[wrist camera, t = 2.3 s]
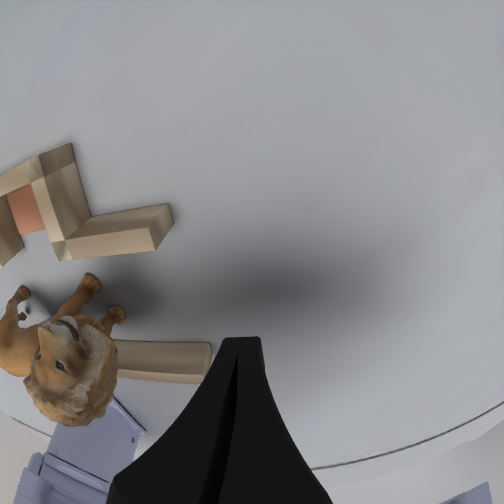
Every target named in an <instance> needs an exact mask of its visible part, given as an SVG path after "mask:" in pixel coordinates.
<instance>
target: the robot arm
mask: <svg viewBox="0 0 504 504" xmlns="http://www.w3.org/2000/svg"><path fill="white" fill-rule="evenodd" d="M146 434H147V433H146V431H145V430H144V429H143V428H142V427H140V426H139V425H138V424H137V423H136V422H135V421H134V420H133V418H132V417H131V416H130V415H129V414H128V413H127V412H126V411H125V410H124V409H123V408H122V407H121V406H120V405H119V404H118V402H117V401H116V400H115V399H114V398H112V400H111V402H110V403H109V404H108V406H107V408H106V413H105V415H104V416H103V417H102V418H95V419H93V420H92V422H91V423H90V424H89V425H87V426H76V427H71V426H70V427H66V426H64V425H62V424H59V423H58V424H57V426H56V428H55V431H54V433H53V436H52V438H51V441H50V443H49V446H48V449H47V451H46V452H47V453H44V454H43V455H42V454H41V453H39V452H37V453H34V454H32V456H31V458H30V461H29V464H28V467H27V468H24V469H23V472H22V475H21V478H20V482H19V485H18V488H17V492H16V495H15V498H14V502H13V503H14V504H333V503H332V501H331V499H330V497H329V495H328V493H327V492H326V490H325V489H324V488H323V486H322V485H321V484H320V482H319V481H318V480H317V478H316V477H315V475H314V474H313V473H312V471H311V470H310V468H309V466H308V465H307V463H306V462H305V460H304V459H303V457H302V455H301V454H300V452H299V450H298V448H297V447H296V445H295V443H294V442H293V440H292V438H291V436H290V434H289V432H288V430H287V428H286V426H285V424H284V422H283V420H282V418H281V415H280V413H279V411H278V408H277V406H276V403H275V401H274V398H273V396H272V393H271V390H270V387H269V384H268V381H267V377H266V374H265V364H264V358H263V351H262V345H261V338H259V337H258V336H255V337H230V338H225V339H223V342H222V344H221V346H220V349H219V351H218V353H217V355H216V357H215V359H214V361H213V363H212V365H211V367H210V369H209V371H208V372H207V374H206V376H205V378H204V379H203V381H202V383H201V385H200V386H199V388H198V389H197V391H196V392H195V394H194V395H193V397H192V399H191V400H190V402H189V403H188V404H187V406H186V407H185V409H184V410H183V411H182V413H181V414H180V415H179V416H178V418H177V419H176V420H175V421H174V423H173V424H172V425H171V426H170V427H169V428H168V429H167V431H166V432H165V433H164V434H163V435H162V436H161V437H160V438H159V439H158V440H157V441H156V442H155V443H154V444H153V445H152V446H151V447H150V448H149V449H148V450H147V451H145V452H144V453H143V454H142V455H141V456H140V457H139V458H138V459H136V460H135V461H134V462H133V463H132V461H133V457H134V453H135V450H136V446H137V442H138V439H139V435H144V436H145V435H146ZM440 504H492V499H491V494H490V489H489V484H488V482H485V483H483V484H481V485H479V486H477V487H475V488H473V489H471V490H469V491H467V492H464V493H462V494H459V495H457V496H455V497H453V498H451V499H449V500H447V501H445V502H442V503H440Z"/></svg>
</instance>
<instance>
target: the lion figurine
mask: <svg viewBox="0 0 504 504" xmlns="http://www.w3.org/2000/svg"><path fill="white" fill-rule="evenodd" d="M99 287H100V285H99V281H98V279H97V278H95V277H94V276H92V275H90V274H88V273H86V274H85V275H84V277H83V279H82V281H81V283H80V285H79V286H78V288H77V290H76V292H75V293H74V295H73V296H72V297H71V298H70V299H69V300H68V301H66V302H65V303H64V304H63V305H62V306H61V307H60V309H59V310H58V312H57V314H56V315H53V316H52V317H50V318H49V319H47V320H45V321H43V322H41V323H39V324H36V325H33V326H30V327H28V328H27V329H25V330H23V331H20V330H19V327H18V321H20V320H25V319H26V317H27V316H26V315H25V314H24V313H23V312H21V313H20V314H18V310H17V306H18V304H19V303H20V302H21V301H25V300H27V299H28V298H29V292H28V291H27V289H26V288H25V287H23V286H20V287H19V288H18V290H17V292H16V293H15V295H14V296H13V297H12V299H10V300H9V301H8V303H7V306H6V313H5V315H4V316H3V318H2V319H1V320H0V367H1V368H2V369H3V370H5V371H7V372H8V373H10V374H11V375H13V376H18V377H20V376H21V377H22V376H27V377H26V378H25V379H24V380H23V383H24V385H25V387H26V390H27V392H28V394H29V395H30V397H31V398H32V399H33V401H34V404H35V406H36V407H37V408H38V409H40V412H41V413H42V414H43V415H44V416H46V417H47V418H48V419H49V420H50V421H55V422H57V423H59V424H62V425H64V426H66V427H70V426H71V427H76V426H87V425H89V424H90V423H91V422H92V420H93V419H95V418H102V417H103V416H104V415H105V413H106V408H107V406H108V404H109V403H110V402H111V400H112V398H113V391H114V389H115V386H116V384H117V370H118V358H117V354H118V350H117V348H116V347H115V345H114V341H113V339H112V338H111V337H110V334H111V331H112V326H113V324H114V323H117V324H122V323H123V321H124V320H125V318H126V315H125V313H124V311H123V310H122V309H121V308H119V307H111V308H110V309H108V310H107V311H106V313H105V314H104V315H103V317H102V318H101V320H100V322H99V321H97V320H95V319H94V318H92V317H89V316H84V315H79V314H80V312H81V310H82V308H83V307H84V306H85V305H86V304H87V303H88V302H89V301H90V300H91V299H92V298H93V296H94V293H95V292H97V291H98V290H99Z"/></svg>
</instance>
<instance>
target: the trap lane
mask: <svg viewBox="0 0 504 504" xmlns="http://www.w3.org/2000/svg"><path fill="white" fill-rule="evenodd" d="M5 194H6V195H5ZM6 196H7V198H6ZM7 199H8V201H7ZM8 203H9V204H8ZM9 206H10V207H9ZM10 209H11V210H10ZM11 212H12V213H11ZM12 215H13V216H12ZM13 217H14V219H13ZM14 220H15V222H14ZM15 223H16V225H15ZM172 225H173V220H172V216H171V212H170V208H169V204H162V205H156V206H150V207H143V208H137V209H132V210H126V211H120V212H115V213H109V214H104V215H99V216H94V217H91V214H90V211H89V208H88V205H87V202H86V198H85V195H84V192H83V188H82V185H81V181H80V177H79V174H78V170H77V166H76V162H75V158H74V154H73V149H72V145H71V143H70V144H67V145H64V146H61V147H59V148H56V149H53V150H51V151H48V152H46V153H43V154H41V155H38V156H36V157H34V158H32V159H30V160H28V161H26V162H24V163H22V164H20V165H18V166H17V167H15V168H13V169H11V170H9V171H8V172H6V173H4V174H2V175H1V176H0V267H3V266H4V265H5V264H6V263H7V262H8V261H9V260H10V259H11V258H12V257H14V256H15V255H16V254H17V253H18V252H19V251H20V250H21V249H22V248H24V245H23V242H22V240H21V237H20V235H21V234H25V233H29V232H33V231H37V230H42V229H46V230H47V233H48V235H49V238H50V241H51V243H52V245H53V248H54V250H55V253H56V255H57V257H58V260H59V261H62V260H71V259H80V258H90V257H100V256H109V255H119V254H129V253H139V252H149V251H156V249H157V248H158V246H159V245H160V243H161V242H162V240H163V239H164V237H165V236H166V234H167V233H168V231H169V230H170V228H171V227H172ZM16 226H17V227H16ZM17 228H18V230H17ZM18 231H19V232H18ZM19 234H20V235H19ZM19 330H20V331H23V330H25V329H22V328H19ZM113 341H114V345H115V347H116V348H117V350H118V354H117V358H118V370H117V377H123V378H130V379H139V380H148V381H158V382H171V383H187V384H201V383H202V381H203V379H204V378H205V376H206V374H207V372H208V371H209V369H210V364H211V359H212V353H213V352H212V349H211V347H210V344H209V343H173V342H142V341H124V340H113Z"/></svg>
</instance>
